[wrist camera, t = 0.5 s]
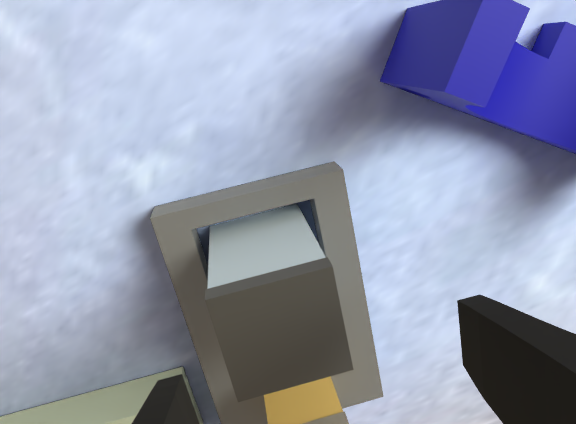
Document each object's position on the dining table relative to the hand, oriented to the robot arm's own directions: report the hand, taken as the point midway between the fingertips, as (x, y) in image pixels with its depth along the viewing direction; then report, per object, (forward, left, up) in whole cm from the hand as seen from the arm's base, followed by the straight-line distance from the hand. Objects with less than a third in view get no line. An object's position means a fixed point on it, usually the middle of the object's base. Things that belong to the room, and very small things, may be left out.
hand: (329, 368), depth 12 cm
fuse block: (-3, +1, -10) cm, 11 cm away
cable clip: (+4, -12, -10) cm, 16 cm away
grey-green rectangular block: (-1, +1, -10) cm, 10 cm away
